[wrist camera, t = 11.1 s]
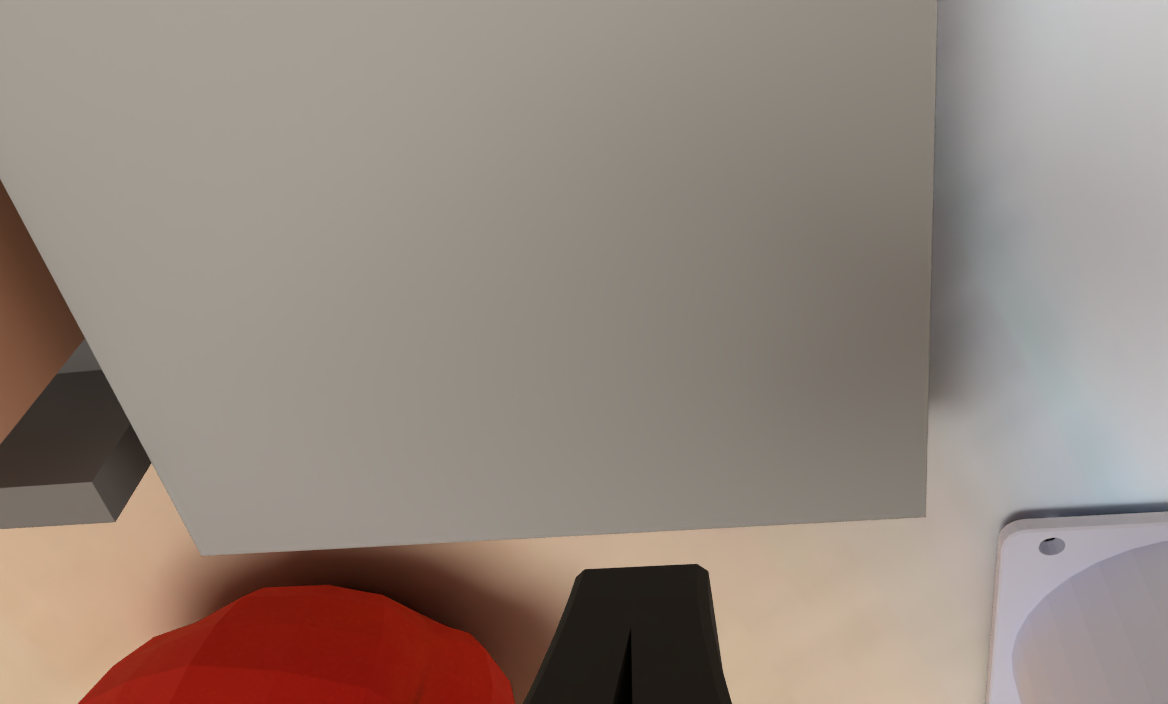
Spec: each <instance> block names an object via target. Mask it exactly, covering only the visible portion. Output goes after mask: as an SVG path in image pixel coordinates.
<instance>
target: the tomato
mask: <svg viewBox="0 0 1168 704" xmlns="http://www.w3.org/2000/svg"><path fill="white" fill-rule="evenodd" d="M78 704H515V700H514V696H513V692H512V688H511V684H510V681H509V680H508V678H507V677H506V676H505V674H504V673H503V672H502V670H501V669H500V668H499V666H498V665H497V664H496V662H495V661H494V660H493V658H492V657H491V656H490V654H489V653H488V652H487V650H486V649H485V648H484V647H483V646H482V645H481V644H480V643H479V642H478V641H477V640H476V639H475V638H474V637H473V636H472V635H471V634H470V633H468V632H464V631H461V630H457V629H454V628H450V627H448V626H446V625H443V624H441V623H439V622H437V621H435V620H433V619H431V618H428V617H426V616H424V615H422V614H420V613H418V612H416V611H414V610H412V609H410V608H408V607H406V606H404V605H402V604H400V603H398V602H396V601H394V600H392V599H390V598H388V597H386V596H384V595H381V594H375V593H369V592H363V591H358V590H353V589H348V588H343V587H338V586H333V585H311V586H286V587H264V588H261V589H259V590H257V591H254V592H252V593H250V594H247V595H245V596H243V597H241V598H239V599H237V600H236V601H234V602H232V603H230V604H228V605H227V606H225V607H223V608H221V609H219V610H218V611H216V612H214V613H212V614H211V615H209V616H207V617H205V618H203V619H202V620H200V621H198V622H196V623H194V624H190V625H187V626H184V627H181V628H178V629H176V630H173V631H170V632H167V633H164V634H161V635H159V636H156V637H153V638H152V639H151V640H149V641H148V642H146V643H145V644H143V645H142V646H141V647H139V648H138V649H136V650H135V651H134V652H132V653H131V654H129V655H128V656H127V657H125V658H124V659H122V660H121V661H120V662H118V663H117V664H115V665H114V666H113V667H112V668H111V669H110V670H109V671H108V672H107V673H106V674H105V675H104V676H103V677H102V678H101V680H100V681H99V682H98V683H97V684H96V685H95V686H94V687H93V688H92V689H91V690H90V691H89V692H88V693H87V694H86V696H85V697H84V698H83V699H82V700H81V701H80V702H79V703H78Z"/></svg>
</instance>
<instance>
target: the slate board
mask: <svg viewBox="0 0 1168 704" xmlns="http://www.w3.org/2000/svg"><path fill="white" fill-rule="evenodd" d="M937 7H938V0H0V179H1V181H2V183H3V185H4V187H5V189H6V191H7V193H8V194H9V196H10V198H11V200H12V202H13V204H14V206H15V208H16V209H17V211H18V213H19V215H20V217H21V219H22V221H23V223H24V224H25V226H26V228H27V230H28V232H29V234H30V236H31V238H32V239H33V241H34V243H35V245H36V247H37V249H38V251H39V253H40V254H41V256H42V258H43V260H44V262H45V264H46V266H47V268H48V269H49V271H50V273H51V275H52V277H53V279H54V281H55V283H56V284H57V286H58V288H59V290H60V292H61V294H62V296H63V298H64V299H65V301H66V303H67V305H68V307H69V309H70V311H71V313H72V314H73V316H74V318H75V320H76V322H77V324H78V326H79V327H80V329H81V331H82V333H83V335H84V337H85V339H86V341H87V342H88V344H89V346H90V348H91V350H92V352H93V354H94V356H95V357H96V359H97V361H98V363H99V365H100V367H101V369H102V371H103V372H104V374H105V376H106V378H107V380H108V382H109V384H110V386H111V387H112V389H113V391H114V393H115V395H116V397H117V399H118V401H119V402H120V404H121V406H122V408H123V410H124V412H125V414H126V416H127V417H128V419H129V421H130V423H131V425H132V427H133V429H134V431H135V432H136V434H137V436H138V438H139V440H140V442H141V444H142V446H143V447H144V449H145V451H146V453H147V455H148V457H149V459H150V461H151V462H152V464H153V466H154V468H155V470H156V472H157V474H158V476H159V477H160V479H161V481H162V483H163V485H164V487H165V489H166V491H167V492H168V494H169V496H170V498H171V500H172V502H173V504H174V506H175V507H176V509H177V511H178V513H179V515H180V517H181V519H182V521H183V522H184V524H185V526H186V528H187V530H188V532H189V534H190V536H191V537H192V539H193V541H194V543H195V545H196V547H197V549H198V551H199V552H200V554H201V556H210V555H229V554H248V553H266V552H285V551H303V550H322V549H341V548H359V547H378V546H397V545H415V544H434V543H452V542H471V541H490V540H508V539H527V538H545V537H564V536H583V535H601V534H620V533H639V532H657V531H676V530H694V529H713V528H732V527H750V526H769V525H787V524H806V523H825V522H843V521H862V520H880V519H899V518H918V517H926V481H927V438H928V395H929V352H930V309H931V266H932V223H933V180H934V137H935V94H936V51H937Z"/></svg>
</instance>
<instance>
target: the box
mask: <svg viewBox="0 0 1168 704" xmlns="http://www.w3.org/2000/svg"><path fill="white" fill-rule="evenodd" d="M151 463H152V462H151V461H150V459H149V457H148V455H147V453H146V451H145V449H144V447H143V446H142V444H141V442H140V440H139V438H138V436H137V434H136V432H135V431H134V429H133V427H132V425H131V423H130V421H129V419H128V417H127V416H126V414H125V412H124V410H123V408H122V406H121V404H120V402H119V401H118V399H117V397H116V395H115V393H114V391H113V389H112V387H111V386H110V384H109V382H108V380H107V378H106V376H105V374H104V372H103V371H102V369H101V367H100V365H99V363H98V361H97V359H96V357H95V356H94V354H93V352H92V350H91V348H90V346H89V344H88V342H87V341H86V339H84V340H83V341H82V343H81V344H80V345H79V346H78V348H77V349H76V350H75V351H74V353H73V354H72V355H71V356H70V358H69V359H68V360H67V361H66V363H65V364H64V365H63V366H62V368H61V369H60V370H59V371H58V373H57V374H56V375H55V376H54V378H53V379H52V380H51V381H50V383H49V384H48V385H47V386H46V388H45V389H44V390H43V392H42V393H41V394H40V395H39V397H38V398H37V399H36V400H35V402H34V403H33V404H32V405H31V407H30V408H29V409H28V410H27V412H26V413H25V414H24V415H23V417H22V418H21V419H20V420H19V422H18V423H17V424H16V425H15V427H14V428H13V429H12V430H11V432H10V433H9V434H8V435H7V437H6V438H5V439H4V440H3V442H2V443H1V444H0V529H9V528H26V527H42V526H59V525H75V524H92V523H108V522H116V520H117V518H118V517H119V515H120V513H121V512H122V510H123V509H124V507H125V505H126V504H127V502H128V500H129V499H130V497H131V495H132V494H133V492H134V491H135V489H136V487H137V486H138V484H139V482H140V481H141V479H142V478H143V476H144V474H145V473H146V471H147V469H148V468H149V466H150V464H151Z"/></svg>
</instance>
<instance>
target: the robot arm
mask: <svg viewBox="0 0 1168 704" xmlns="http://www.w3.org/2000/svg"><path fill="white" fill-rule="evenodd" d="M1049 538H1055V539H1054V540H1051V541H1047V542H1044V540H1046V539H1049ZM523 704H732V702H731V699H730V695H729V692H728V688H727V685H726V681H725V678H724V674H723V669H722V662H721V656H720V649H719V642H718V635H717V628H716V621H715V614H714V607H713V600H712V593H711V587H710V580H709V573H708V571H707V570H705V569H704V568H702V567H701V566H699V565H698V564H687V565H666V566H645V567H624V568H604V569H585V570H583V571H582V572H581V573H580V574H579V575H578V576H577V577H576V579H575V582H574V585H573V588H572V591H571V594H570V596H569V599H568V602H567V605H566V607H565V610H564V612H563V615H562V618H561V620H560V623H559V625H558V628H557V630H556V632H555V635H554V637H553V640H552V642H551V644H550V647H549V649H548V651H547V653H546V656H545V658H544V660H543V662H542V665H541V667H540V669H539V671H538V674H537V676H536V678H535V680H534V682H533V685H532V687H531V689H530V691H529V693H528V695H527V697H526V699H525V701H524V703H523ZM985 704H1168V511H1167V512H1148V513H1129V514H1110V515H1091V516H1072V517H1053V518H1034V519H1021V520H1016V521H1013V522H1011V523H1009V524H1007V525H1006V526H1005V527H1004V528H1003V529H1002V530H1001V531H1000V534H999V537H998V548H997V561H996V574H995V586H994V599H993V612H992V624H991V637H990V650H989V663H988V675H987V688H986V701H985Z"/></svg>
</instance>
